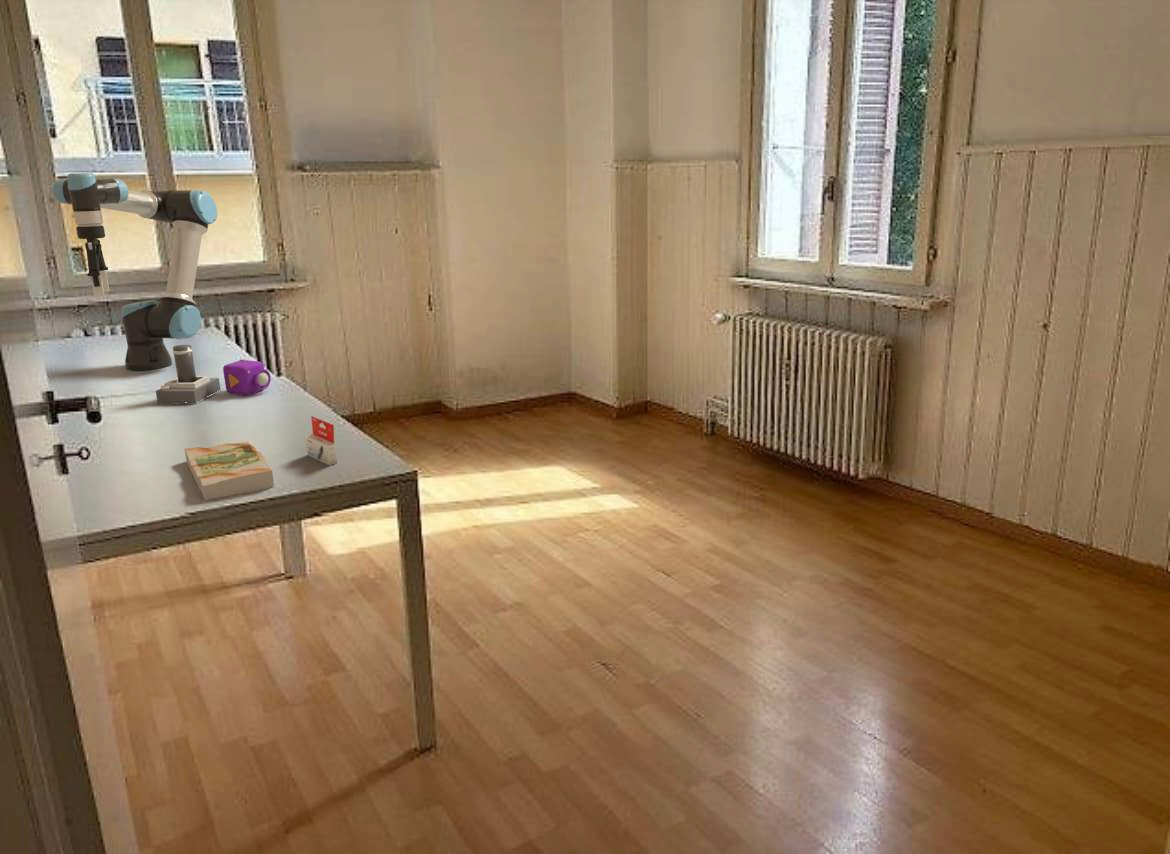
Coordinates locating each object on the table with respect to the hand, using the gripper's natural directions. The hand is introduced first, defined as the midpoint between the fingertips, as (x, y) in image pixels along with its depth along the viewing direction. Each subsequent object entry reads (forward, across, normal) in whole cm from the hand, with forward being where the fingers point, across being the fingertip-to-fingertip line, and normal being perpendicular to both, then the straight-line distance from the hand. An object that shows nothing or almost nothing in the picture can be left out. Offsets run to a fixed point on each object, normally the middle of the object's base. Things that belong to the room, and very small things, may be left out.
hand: (102, 294), depth 272 cm
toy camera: (+31, +24, +40) cm, 56 cm away
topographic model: (+31, +102, +32) cm, 111 cm away
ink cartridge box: (+31, +100, +53) cm, 118 cm away
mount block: (+31, +22, +22) cm, 43 cm away
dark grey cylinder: (+27, +22, +22) cm, 41 cm away
